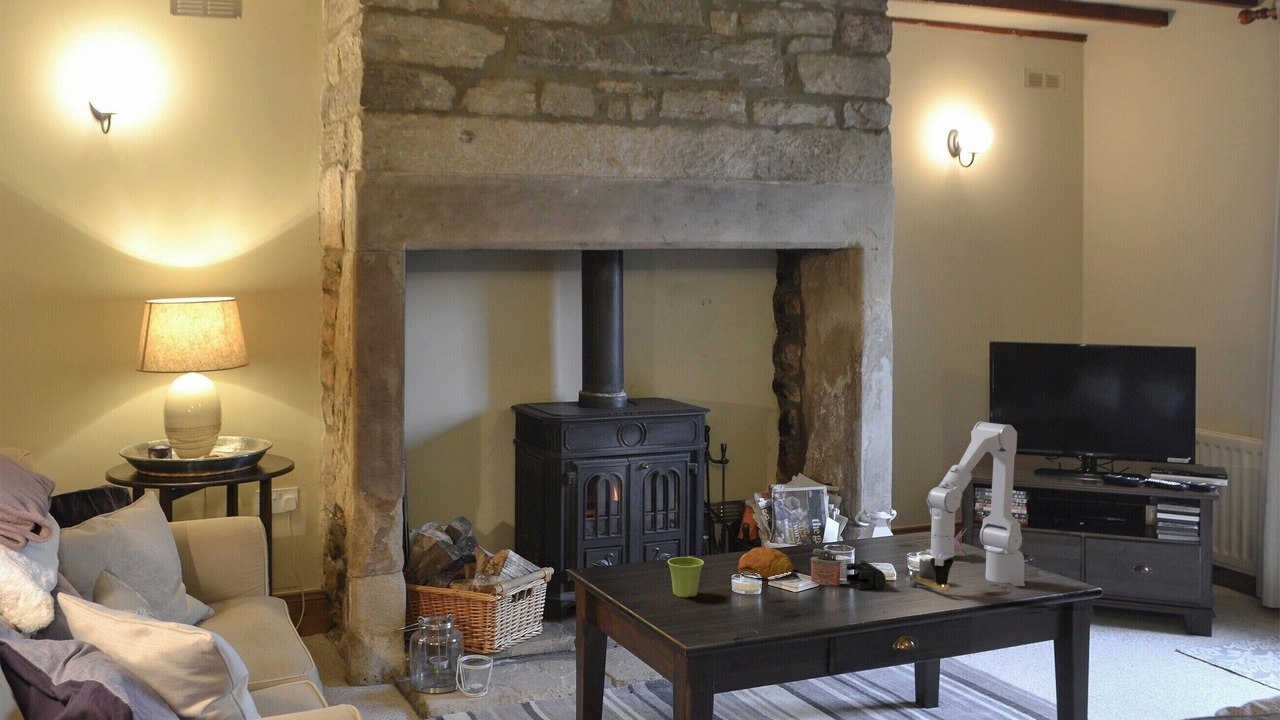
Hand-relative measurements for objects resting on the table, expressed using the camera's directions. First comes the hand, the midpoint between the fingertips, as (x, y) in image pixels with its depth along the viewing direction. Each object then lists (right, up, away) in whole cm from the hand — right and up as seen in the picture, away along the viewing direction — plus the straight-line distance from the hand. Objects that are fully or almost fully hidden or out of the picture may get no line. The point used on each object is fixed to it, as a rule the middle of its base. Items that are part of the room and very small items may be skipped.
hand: (941, 586), depth 287 cm
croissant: (-43, -1, +23) cm, 49 cm away
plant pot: (-65, -3, +2) cm, 66 cm away
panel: (0, -2, +9) cm, 10 cm away
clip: (-3, -2, +2) cm, 4 cm away
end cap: (-18, -3, +8) cm, 20 cm away
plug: (-1, -1, +11) cm, 11 cm away
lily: (+15, 0, +42) cm, 44 cm away
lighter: (-28, -2, +10) cm, 30 cm away
